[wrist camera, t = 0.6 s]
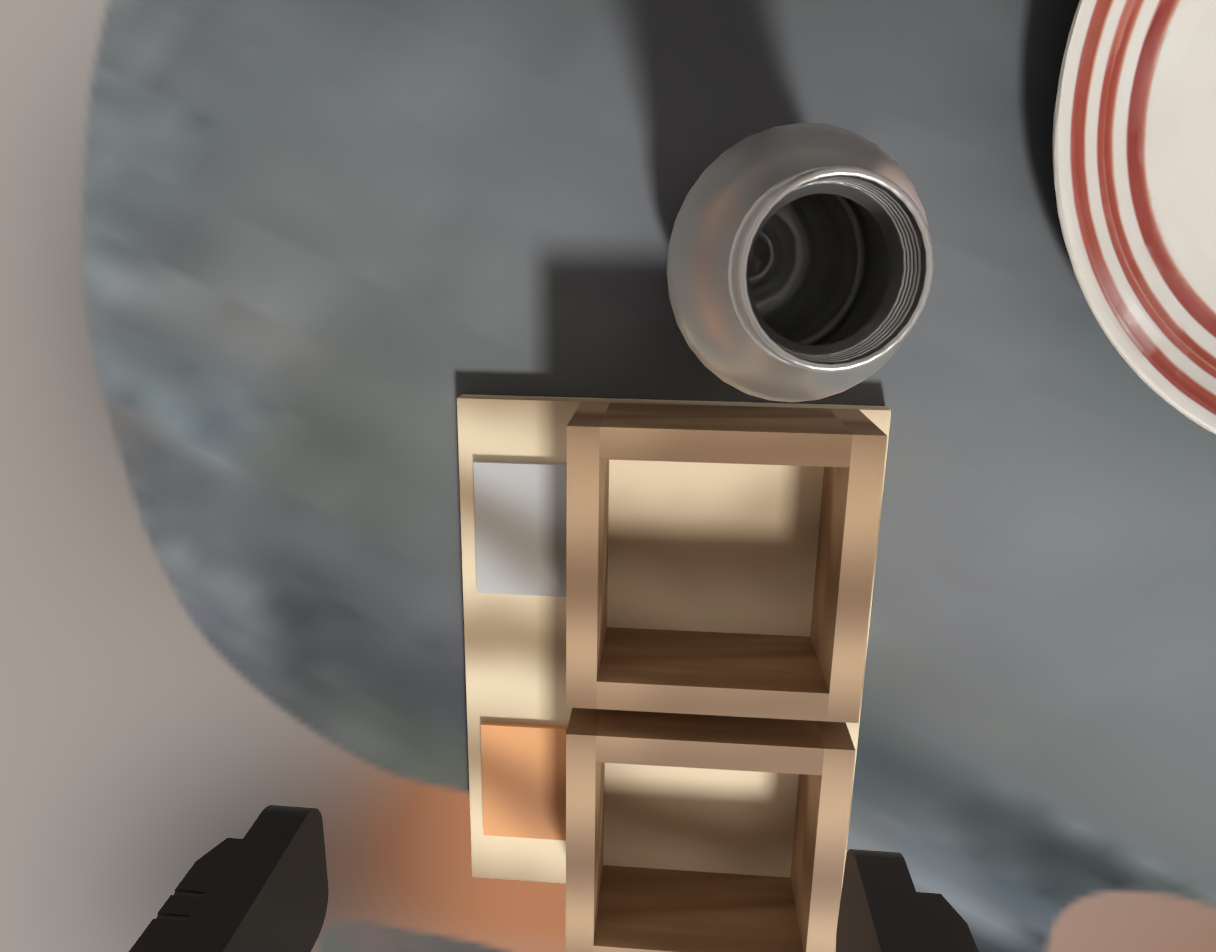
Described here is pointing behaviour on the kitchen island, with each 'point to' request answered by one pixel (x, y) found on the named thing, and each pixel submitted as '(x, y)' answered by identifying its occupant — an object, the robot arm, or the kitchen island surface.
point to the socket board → (668, 659)
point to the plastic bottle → (799, 262)
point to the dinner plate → (1144, 186)
